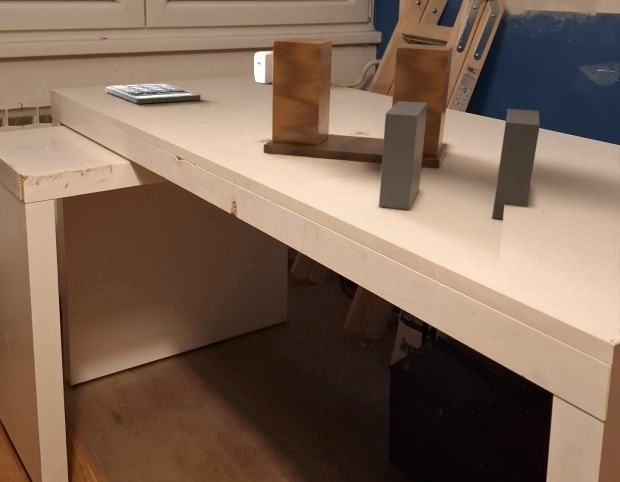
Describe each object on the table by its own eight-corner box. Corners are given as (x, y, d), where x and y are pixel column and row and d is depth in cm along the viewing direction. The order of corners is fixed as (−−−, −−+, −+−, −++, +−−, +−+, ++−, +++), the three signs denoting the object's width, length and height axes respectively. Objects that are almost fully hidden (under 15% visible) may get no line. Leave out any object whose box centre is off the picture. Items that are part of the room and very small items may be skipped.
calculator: (165, 82, 141) (201, 93, 130) (165, 87, 141) (201, 99, 130) (104, 85, 135) (137, 97, 124) (105, 91, 135) (137, 103, 124)
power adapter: (294, 78, 160) (295, 49, 157) (309, 81, 157) (310, 51, 154) (251, 81, 153) (251, 51, 151) (266, 84, 150) (266, 53, 148)
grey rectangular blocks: (524, 199, 78) (538, 110, 74) (524, 221, 72) (540, 124, 68) (391, 187, 81) (398, 100, 77) (378, 206, 74) (385, 112, 70)
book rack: (446, 151, 99) (458, 45, 93) (438, 168, 90) (451, 52, 84) (285, 138, 104) (287, 36, 98) (263, 152, 95) (263, 41, 89)
